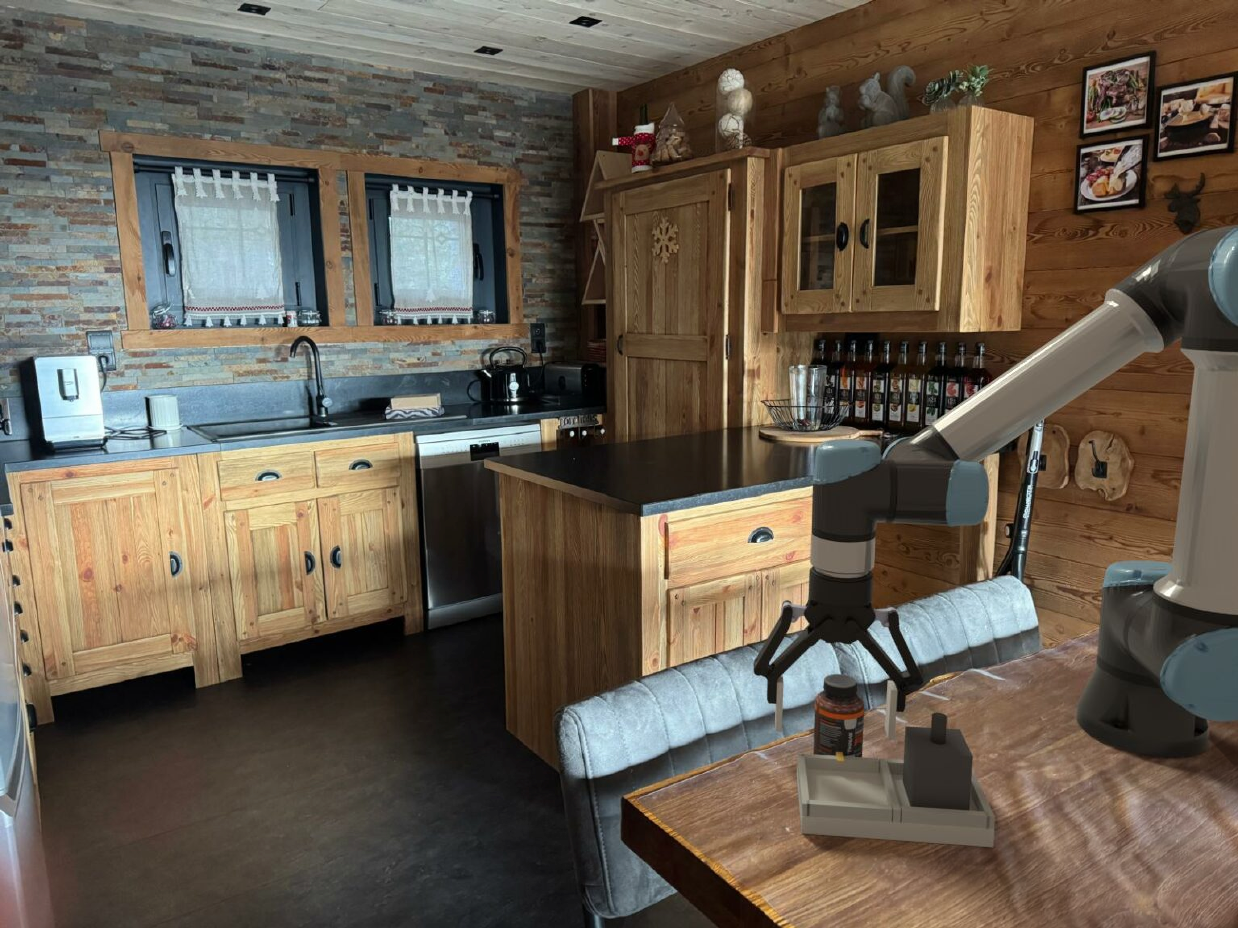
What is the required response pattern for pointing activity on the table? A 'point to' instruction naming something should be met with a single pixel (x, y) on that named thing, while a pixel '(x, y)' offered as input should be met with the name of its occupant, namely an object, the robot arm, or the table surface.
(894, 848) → the table surface
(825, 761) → the free socket
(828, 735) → the supplement bottle
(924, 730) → the single-knob plug
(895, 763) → the two-section tray
